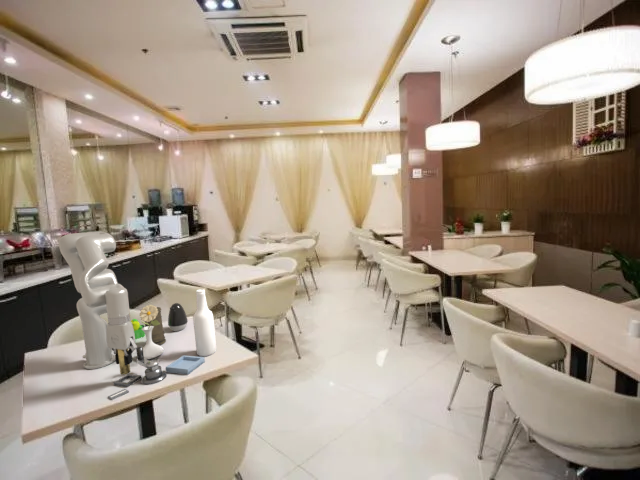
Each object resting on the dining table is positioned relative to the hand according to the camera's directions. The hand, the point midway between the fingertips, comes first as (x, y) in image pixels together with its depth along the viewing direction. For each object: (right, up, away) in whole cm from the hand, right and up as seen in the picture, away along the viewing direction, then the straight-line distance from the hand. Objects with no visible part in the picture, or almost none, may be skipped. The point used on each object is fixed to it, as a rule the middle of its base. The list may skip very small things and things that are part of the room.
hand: (124, 362), depth 137 cm
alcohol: (+25, -4, +23) cm, 34 cm away
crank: (+7, -3, +4) cm, 9 cm away
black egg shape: (-2, -2, +57) cm, 57 cm away
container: (-5, -4, +38) cm, 39 cm away
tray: (+21, -5, +10) cm, 24 cm away
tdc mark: (+3, -9, -9) cm, 13 cm away
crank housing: (+7, -7, +1) cm, 10 cm away
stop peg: (0, -4, +1) cm, 4 cm away
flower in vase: (0, -5, +23) cm, 23 cm away
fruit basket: (-21, -4, +47) cm, 52 cm away
